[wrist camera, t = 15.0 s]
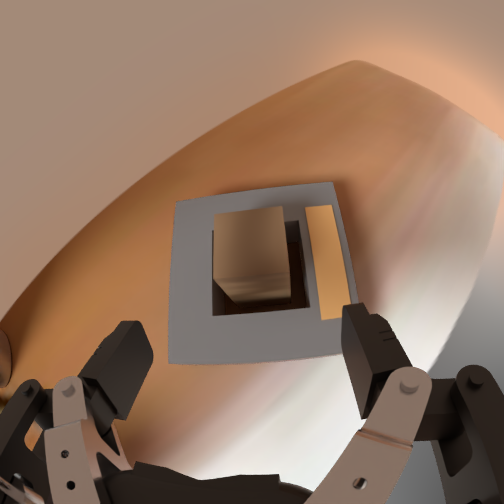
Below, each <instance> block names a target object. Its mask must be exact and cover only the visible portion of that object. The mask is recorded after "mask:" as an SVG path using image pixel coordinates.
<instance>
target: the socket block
mask: <svg viewBox="0 0 504 504" xmlns="http://www.w3.org/2000/svg"><path fill="white" fill-rule="evenodd" d="M278 206H282V209H283V217H284V225H285V234H286V242H287V243H294V242H298V243H299V250H300V258H301V265H302V273H303V281H304V289H305V298H306V307H307V308H301V309H292V310H283V311H272V312H261V313H249V314H236V315H225V294H224V290H223V289H222V288H221V287H220V286H219V285H218V284H217V283H216V281H215V280H214V279H213V255H214V214H220V213H228V212H235V211H243V210H252V209H260V208H269V207H278ZM356 303H359V301H358V295H357V289H356V283H355V278H354V272H353V267H352V262H351V257H350V252H349V247H348V243H347V238H346V234H345V229H344V225H343V221H342V217H341V212H340V208H339V204H338V201H337V197H336V193H335V189H334V186H333V182H322V183H311V184H301V185H291V186H282V187H273V188H265V189H256V190H249V191H241V192H234V193H227V194H220V195H214V196H207V197H201V198H195V199H189V200H183V201H177V202H176V208H175V217H174V228H173V240H172V253H171V268H170V288H169V321H168V361H169V364H182V365H231V364H253V363H269V362H281V361H292V360H302V359H311V358H319V357H326V356H333V355H340V354H343V353H342V347H341V326H342V308H343V305H349V304H356Z"/></svg>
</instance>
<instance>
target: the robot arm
mask: <svg viewBox="0 0 504 504" xmlns="http://www.w3.org/2000/svg"><path fill="white" fill-rule="evenodd" d="M341 347H342V353H343V356H344V359H345V363H346V366H347V369H348V373H349V376H350V380H351V383H352V387H353V390H354V394H355V398H356V401H357V405H358V409H359V412H360V416H361V420H362V419H367V420H366V422H365V424H364V425H363V427H362V428H361V430H358V431H357V432H356V433H355V435H354V436H353V438H352V439H351V441H350V442H349V444H348V446H347V447H346V449H345V450H344V452H343V453H342V455H341V456H340V458H339V459H338V460H337V462H336V463H335V465H334V466H333V467H332V469H331V470H330V472H329V473H328V474H327V476H326V477H325V478H324V480H323V481H322V482H321V483H320V485H319V486H318V487H317V488H316V490H315V491H314V492H312V491H310V490H308V489H306V488H303V487H301V486H298V485H294V484H290V483H284V482H281V481H280V477H279V474H272V475H236V476H230V477H223V478H216V479H208V480H197V479H194V478H192V477H189V476H186V475H183V474H181V473H178V472H176V471H173V470H171V469H169V468H166V467H160V466H155V465H150V464H146V463H141V462H137V461H136V463H135V466H134V468H133V469H132V468H131V466H130V465H129V463H128V462H127V460H126V457H125V454H124V451H123V449H122V446H121V443H120V440H119V437H118V434H117V431H116V428H115V426H114V424H113V423H112V422H113V420H114V418H115V419H120V420H125V421H126V419H127V416H128V414H129V412H130V410H131V407H132V405H133V403H134V401H135V399H136V397H137V394H138V392H139V390H140V388H141V386H142V384H143V382H144V379H145V377H146V375H147V373H148V371H149V369H150V367H151V365H152V362H153V350H152V348H151V345H150V343H149V341H148V338H147V336H146V333H145V331H144V328H143V326H142V324H141V323H140V322H139V321H121V322H120V323H119V325H118V326H117V327H116V329H115V330H114V331H113V332H112V333H111V334H110V335H108V336H107V337H106V338H105V339H104V340H103V341H102V342H101V344H100V345H99V346H98V348H97V349H96V351H95V352H94V355H92V356H91V358H90V359H89V360H88V362H87V363H86V365H85V366H84V367H83V369H82V370H81V372H80V373H79V375H78V376H77V377H76V376H69V377H66V378H64V379H62V380H60V381H59V382H58V383H57V384H56V385H55V387H54V389H43V387H42V386H41V385H40V383H39V382H38V381H37V380H35V379H30V380H27V381H25V382H23V383H22V384H21V385H20V386H19V387H18V389H17V390H16V392H15V393H14V395H13V396H12V397H11V399H10V400H9V402H8V403H7V405H6V406H5V408H4V409H3V411H2V412H1V414H0V504H46V502H47V499H48V496H49V494H50V491H51V494H52V499H53V504H385V503H386V501H387V499H388V497H389V496H390V494H391V492H392V490H393V489H394V487H395V485H396V483H397V481H398V479H399V477H400V475H401V473H402V471H403V469H404V467H405V465H406V463H407V460H408V458H409V456H410V454H411V451H412V448H413V445H412V443H413V441H431V445H432V448H433V451H434V455H435V458H436V462H437V466H438V469H439V473H440V477H441V481H442V486H443V490H444V495H445V500H446V504H504V395H503V393H502V391H501V390H500V388H499V386H498V384H497V383H496V381H495V379H494V378H493V376H492V375H491V373H490V372H489V371H488V370H487V369H486V368H484V367H482V366H479V365H468V366H465V367H464V368H462V369H461V370H460V371H459V372H458V374H457V376H456V378H453V379H431V378H430V377H429V375H428V374H427V373H426V372H425V371H423V370H421V369H419V368H416V367H413V366H412V364H411V362H410V360H409V359H408V357H407V355H406V353H405V351H404V349H403V348H402V346H401V344H400V342H399V340H398V339H397V338H396V335H395V333H394V332H393V331H392V328H391V327H390V325H389V323H388V321H387V320H386V319H384V318H383V317H381V316H380V315H379V314H371V315H369V313H368V311H367V309H366V307H365V305H364V304H363V303H356V304H349V305H343V308H342V326H341ZM10 374H11V350H10V345H9V342H8V339H7V336H6V334H5V333H4V332H3V331H2V330H0V388H3V387H5V386H6V385H7V383H8V381H9V378H10ZM34 420H35V421H36V422H37V424H38V425H39V426H40V427H41V428H42V429H43V431H42V433H41V435H40V437H39V439H38V441H37V443H36V445H35V447H34V449H33V451H30V450H29V449H28V448H27V446H26V445H25V442H24V438H25V435H26V433H27V431H28V430H29V428H30V426H31V424H32V423H33V421H34Z"/></svg>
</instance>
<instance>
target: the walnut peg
mask: <svg viewBox="0 0 504 504" xmlns="http://www.w3.org/2000/svg"><path fill="white" fill-rule="evenodd" d="M213 279H214V280H215V281H216V283H217V284H218V285H219V286H220V287H221V288H222V289H223V290H224V292H225V293H226V294H227V295H228V296H229V297H230V298H231V300H232V301H233V302H234V303H235V304H236V305H237V306H238V307H239V308H241V307H254V306H266V305H277V304H288V303H291V290H290V270H289V261H288V251H287V242H286V234H285V225H284V217H283V209H282V206H278V207H269V208H260V209H252V210H243V211H235V212H228V213H220V214H214V255H213Z"/></svg>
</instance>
